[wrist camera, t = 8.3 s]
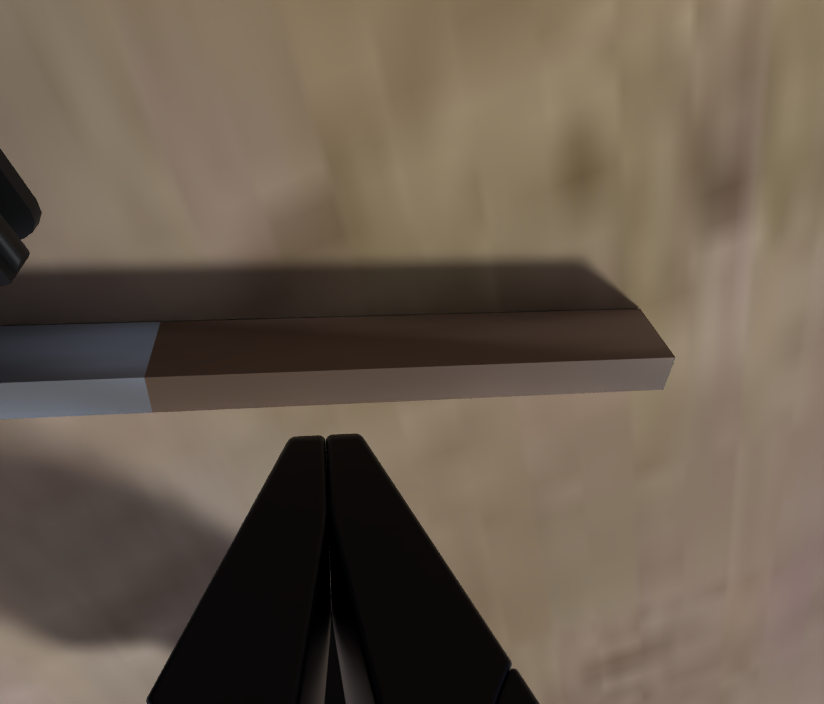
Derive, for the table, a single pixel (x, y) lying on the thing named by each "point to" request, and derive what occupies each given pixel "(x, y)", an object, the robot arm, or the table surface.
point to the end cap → (14, 220)
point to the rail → (323, 361)
